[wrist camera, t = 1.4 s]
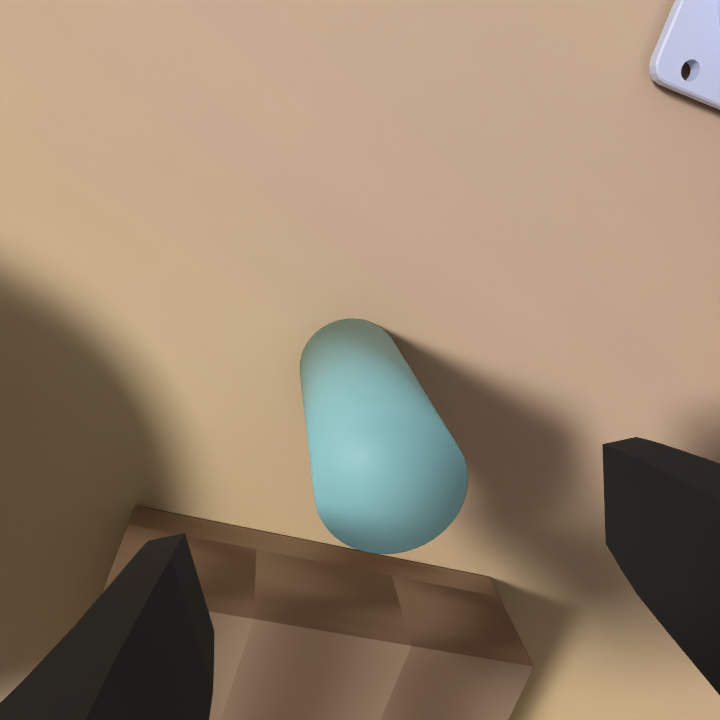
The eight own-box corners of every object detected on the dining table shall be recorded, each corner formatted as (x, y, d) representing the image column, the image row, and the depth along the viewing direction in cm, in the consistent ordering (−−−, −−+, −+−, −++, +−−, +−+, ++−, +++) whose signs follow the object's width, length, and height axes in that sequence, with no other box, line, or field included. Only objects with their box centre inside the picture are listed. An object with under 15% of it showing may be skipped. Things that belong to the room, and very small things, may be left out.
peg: (414, 334, 19) (490, 437, 12) (381, 424, 19) (436, 566, 13) (316, 306, 18) (341, 399, 11) (287, 400, 19) (294, 538, 12)
